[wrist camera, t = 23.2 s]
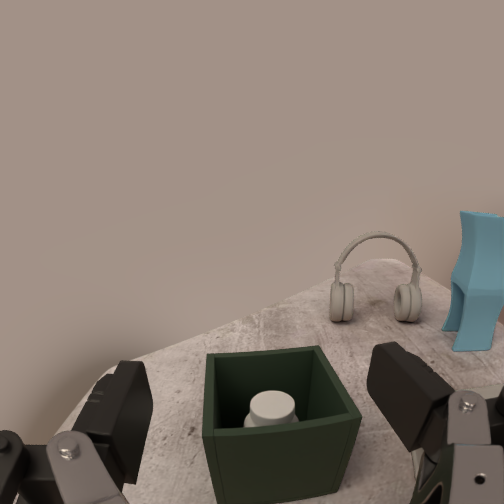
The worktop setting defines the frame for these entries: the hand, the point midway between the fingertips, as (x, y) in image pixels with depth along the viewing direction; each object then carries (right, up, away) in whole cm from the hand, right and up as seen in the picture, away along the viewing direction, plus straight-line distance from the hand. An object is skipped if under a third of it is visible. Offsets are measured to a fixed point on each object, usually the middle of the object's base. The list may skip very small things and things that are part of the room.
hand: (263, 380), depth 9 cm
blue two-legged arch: (+43, -13, +36) cm, 58 cm away
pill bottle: (+2, -18, +16) cm, 24 cm away
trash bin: (+2, -18, +16) cm, 25 cm away
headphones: (+26, -11, +51) cm, 58 cm away
